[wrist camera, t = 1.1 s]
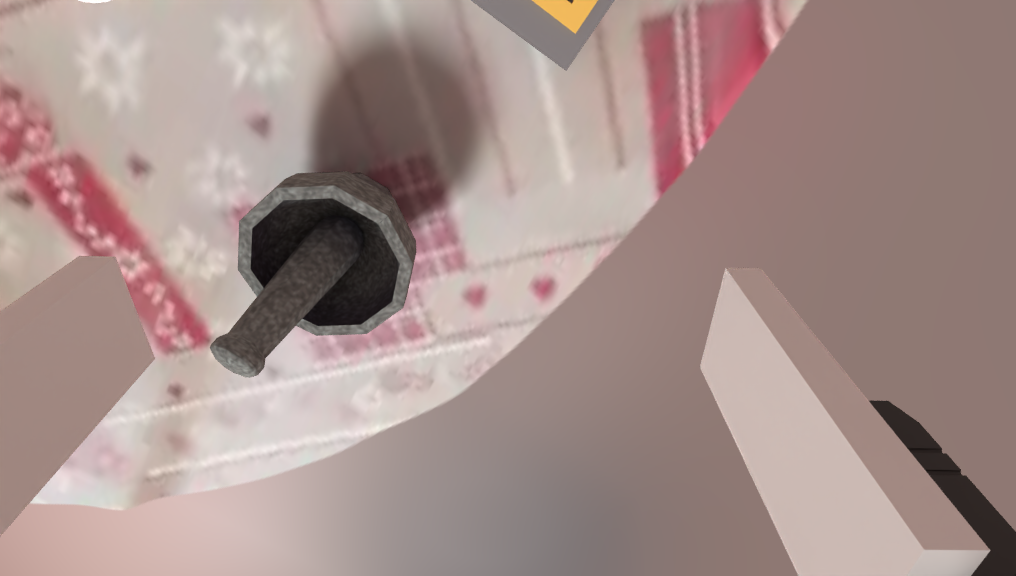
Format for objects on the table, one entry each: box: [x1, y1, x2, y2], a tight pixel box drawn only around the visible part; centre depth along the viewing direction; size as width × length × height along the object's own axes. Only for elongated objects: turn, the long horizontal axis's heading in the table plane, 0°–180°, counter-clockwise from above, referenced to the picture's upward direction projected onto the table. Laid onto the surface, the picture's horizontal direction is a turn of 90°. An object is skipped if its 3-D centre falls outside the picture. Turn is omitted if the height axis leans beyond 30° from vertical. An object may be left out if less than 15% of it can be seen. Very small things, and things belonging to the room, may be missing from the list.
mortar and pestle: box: [210, 171, 416, 378], centre depth 32 cm, size 11×9×12 cm
